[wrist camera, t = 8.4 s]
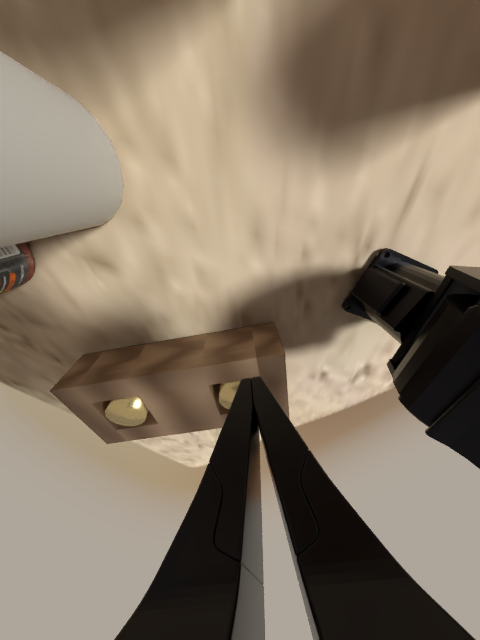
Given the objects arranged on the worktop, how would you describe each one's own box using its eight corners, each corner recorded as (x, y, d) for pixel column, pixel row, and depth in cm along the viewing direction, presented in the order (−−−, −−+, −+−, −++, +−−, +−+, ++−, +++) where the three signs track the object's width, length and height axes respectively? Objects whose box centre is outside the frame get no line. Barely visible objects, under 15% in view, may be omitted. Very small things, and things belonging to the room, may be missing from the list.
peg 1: (152, 364, 24) (135, 401, 19) (164, 386, 26) (152, 423, 21) (120, 369, 24) (96, 407, 20) (135, 390, 26) (117, 428, 22)
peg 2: (250, 348, 23) (255, 382, 19) (255, 372, 25) (260, 407, 21) (217, 353, 23) (214, 389, 19) (224, 376, 25) (223, 413, 21)
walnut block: (273, 322, 21) (284, 353, 17) (279, 383, 27) (289, 418, 22) (83, 354, 23) (49, 390, 18) (125, 406, 28) (106, 443, 24)
